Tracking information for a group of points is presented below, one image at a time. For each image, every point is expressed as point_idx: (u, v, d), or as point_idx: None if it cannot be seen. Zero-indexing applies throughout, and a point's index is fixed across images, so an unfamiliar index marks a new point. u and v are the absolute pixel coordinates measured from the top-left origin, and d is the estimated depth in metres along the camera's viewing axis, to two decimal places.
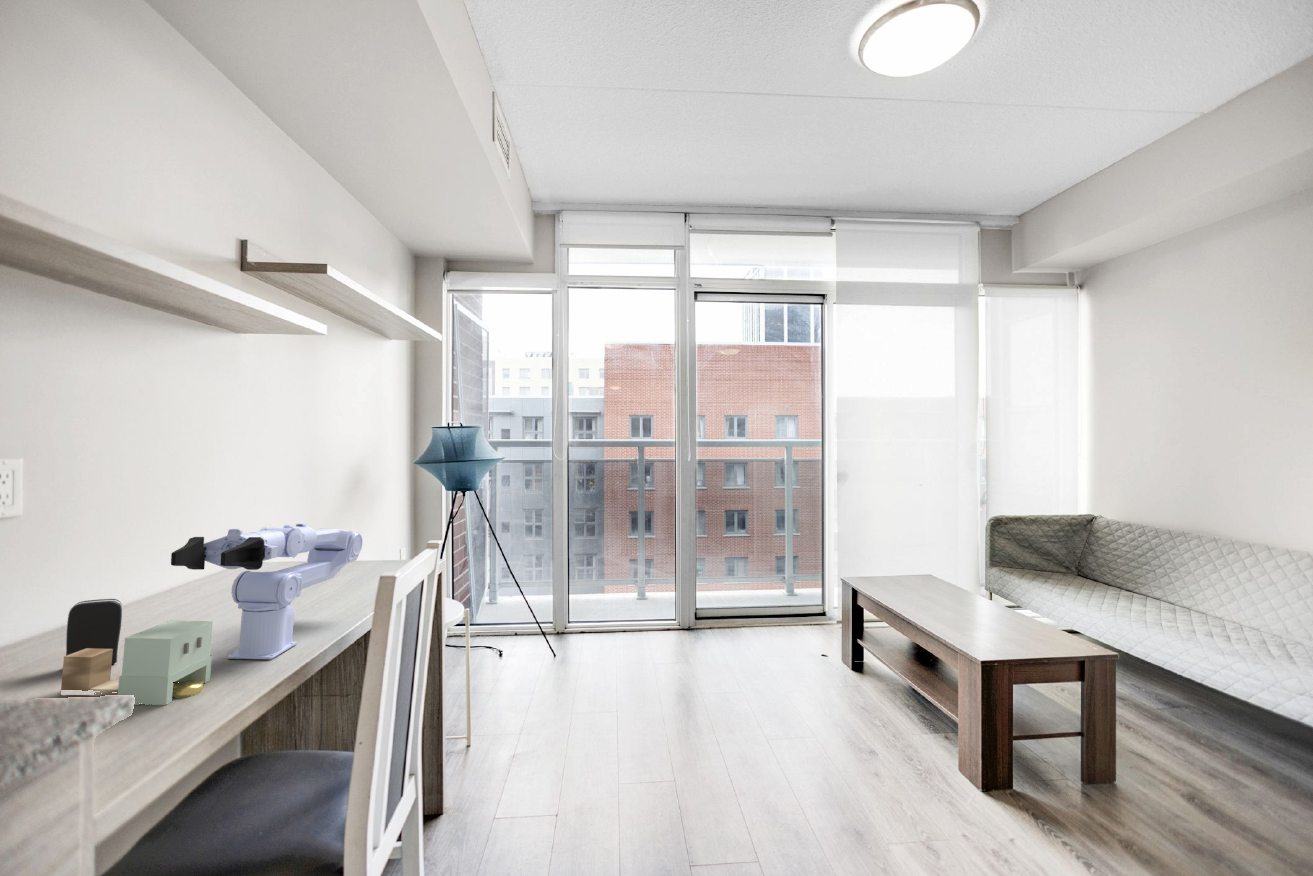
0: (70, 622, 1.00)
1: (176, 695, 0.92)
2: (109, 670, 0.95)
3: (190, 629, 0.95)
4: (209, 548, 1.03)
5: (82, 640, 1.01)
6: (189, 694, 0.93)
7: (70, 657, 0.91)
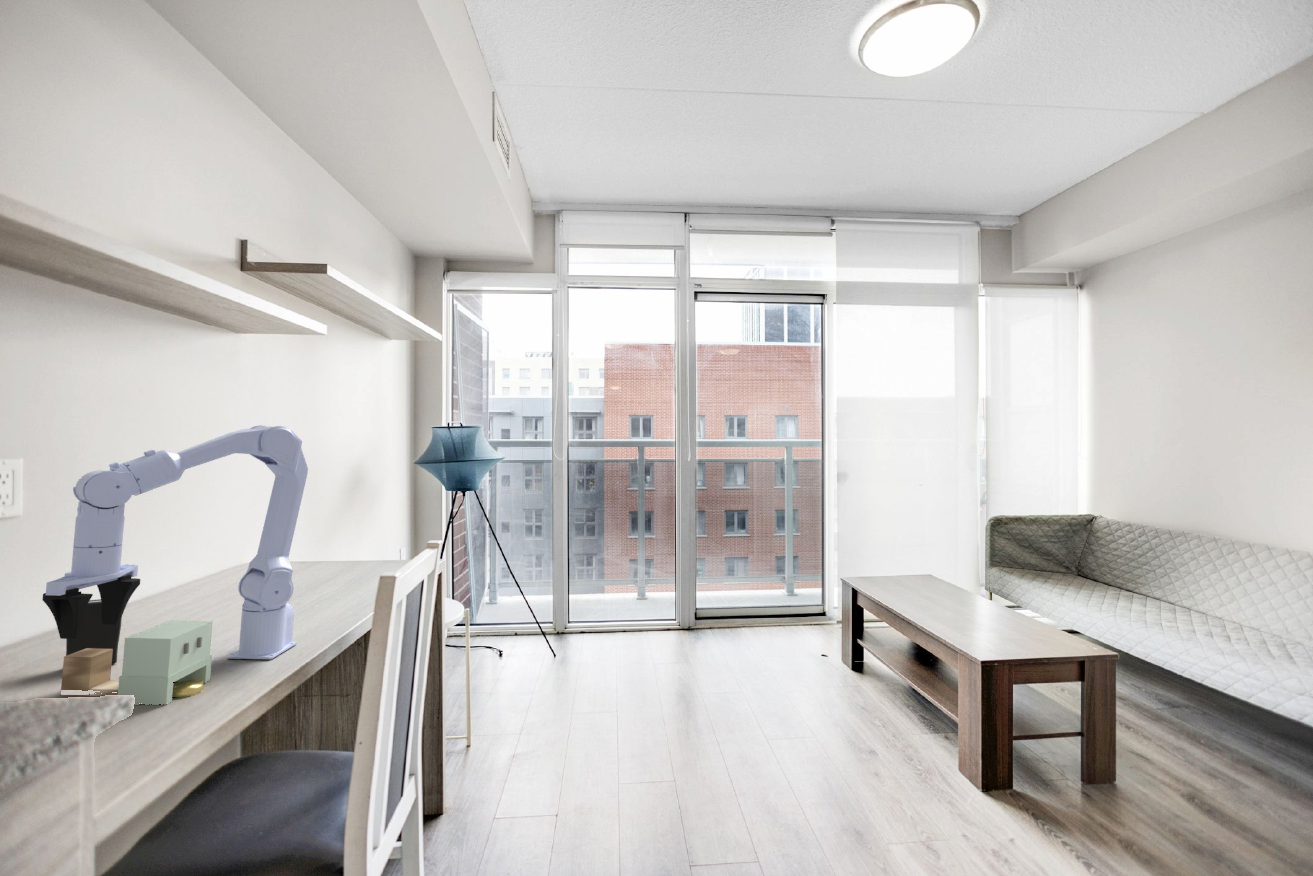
0: None
1: (176, 695, 0.92)
2: (109, 670, 0.95)
3: (190, 629, 0.95)
4: None
5: (82, 640, 1.01)
6: (189, 694, 0.93)
7: (70, 657, 0.91)
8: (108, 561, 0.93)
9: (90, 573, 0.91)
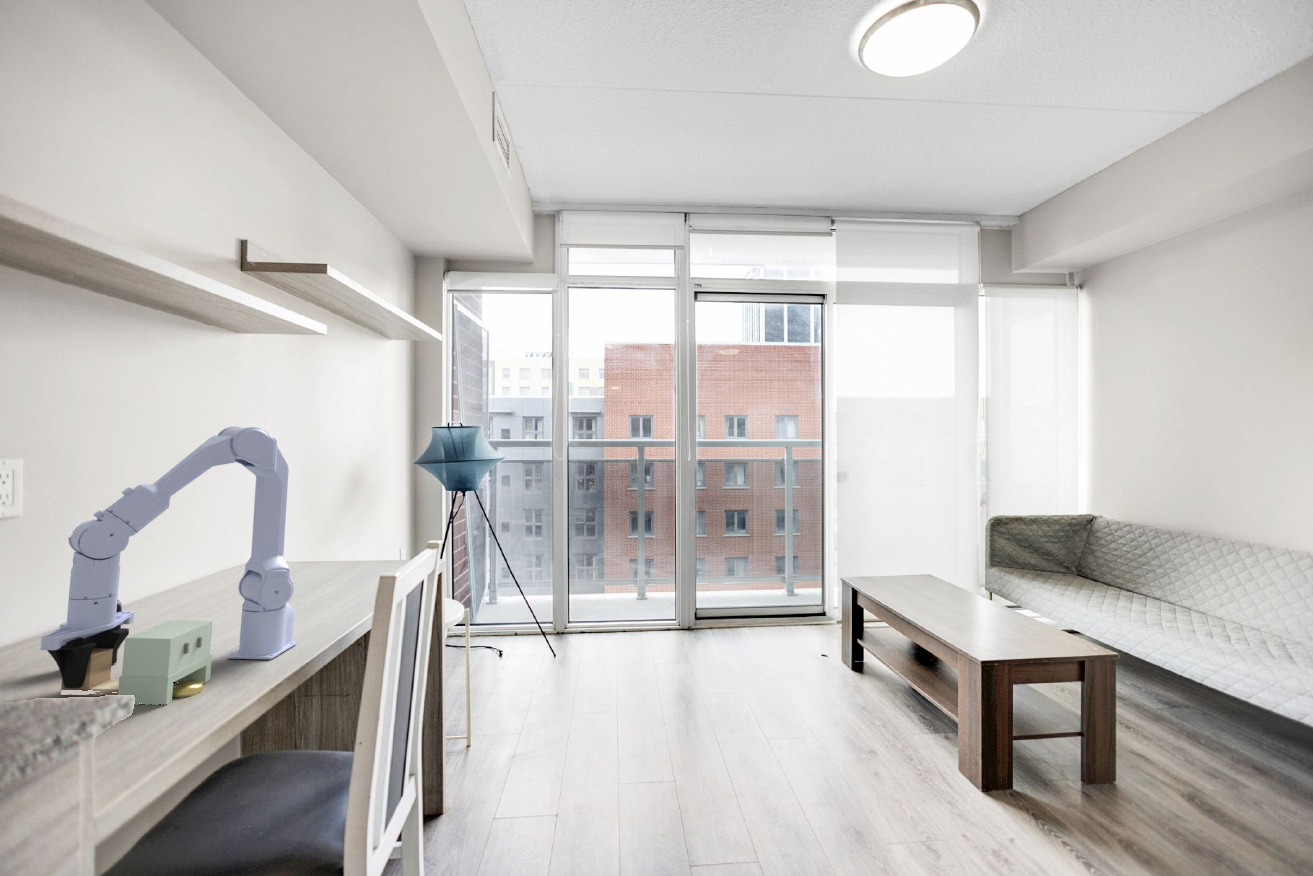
0: None
1: (176, 695, 0.92)
2: (109, 670, 0.95)
3: (190, 629, 0.95)
4: None
5: None
6: (189, 694, 0.93)
7: None
8: (103, 612, 0.93)
9: (85, 625, 0.91)
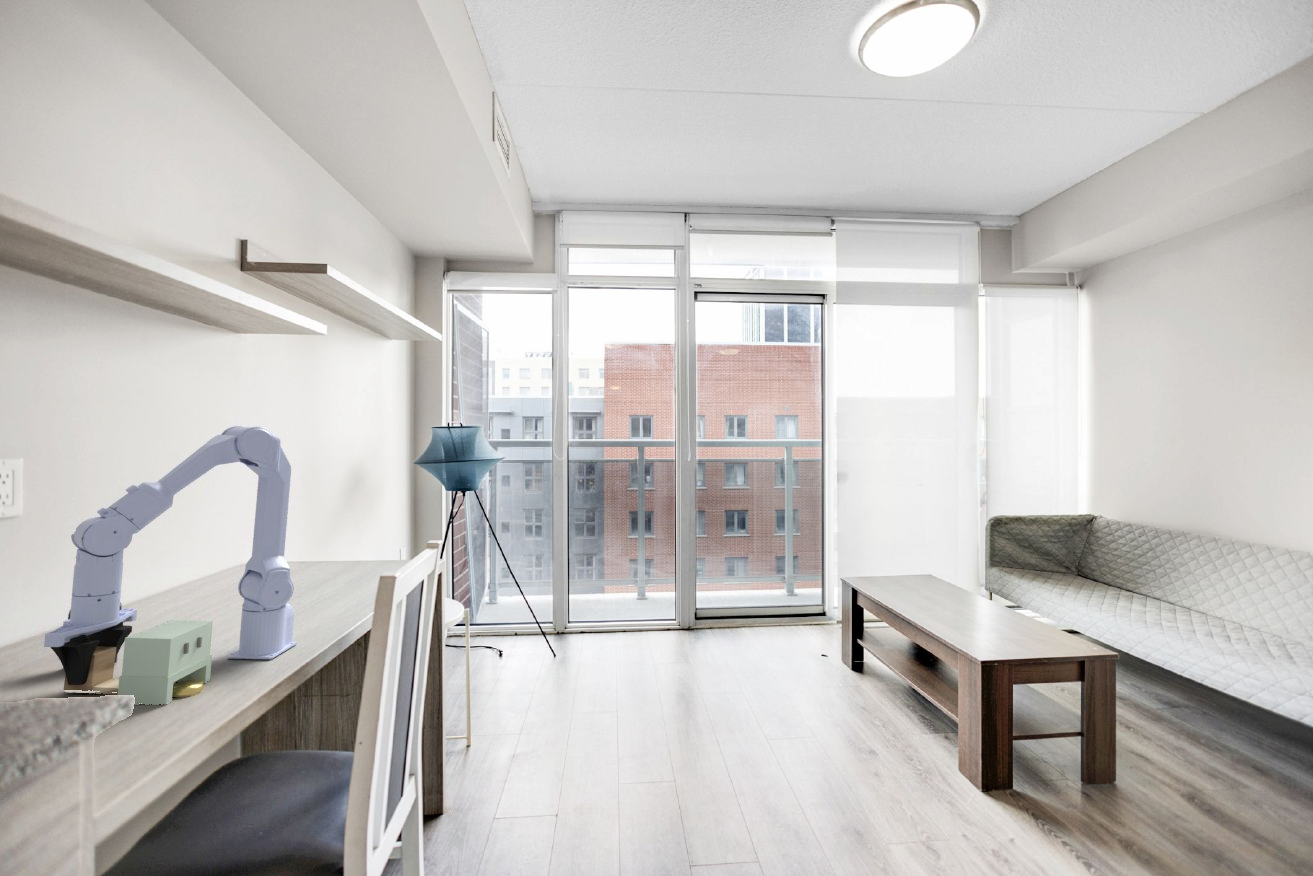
0: None
1: (176, 695, 0.92)
2: (112, 668, 0.95)
3: (190, 629, 0.95)
4: None
5: None
6: (189, 694, 0.93)
7: None
8: (107, 609, 0.93)
9: (88, 622, 0.91)
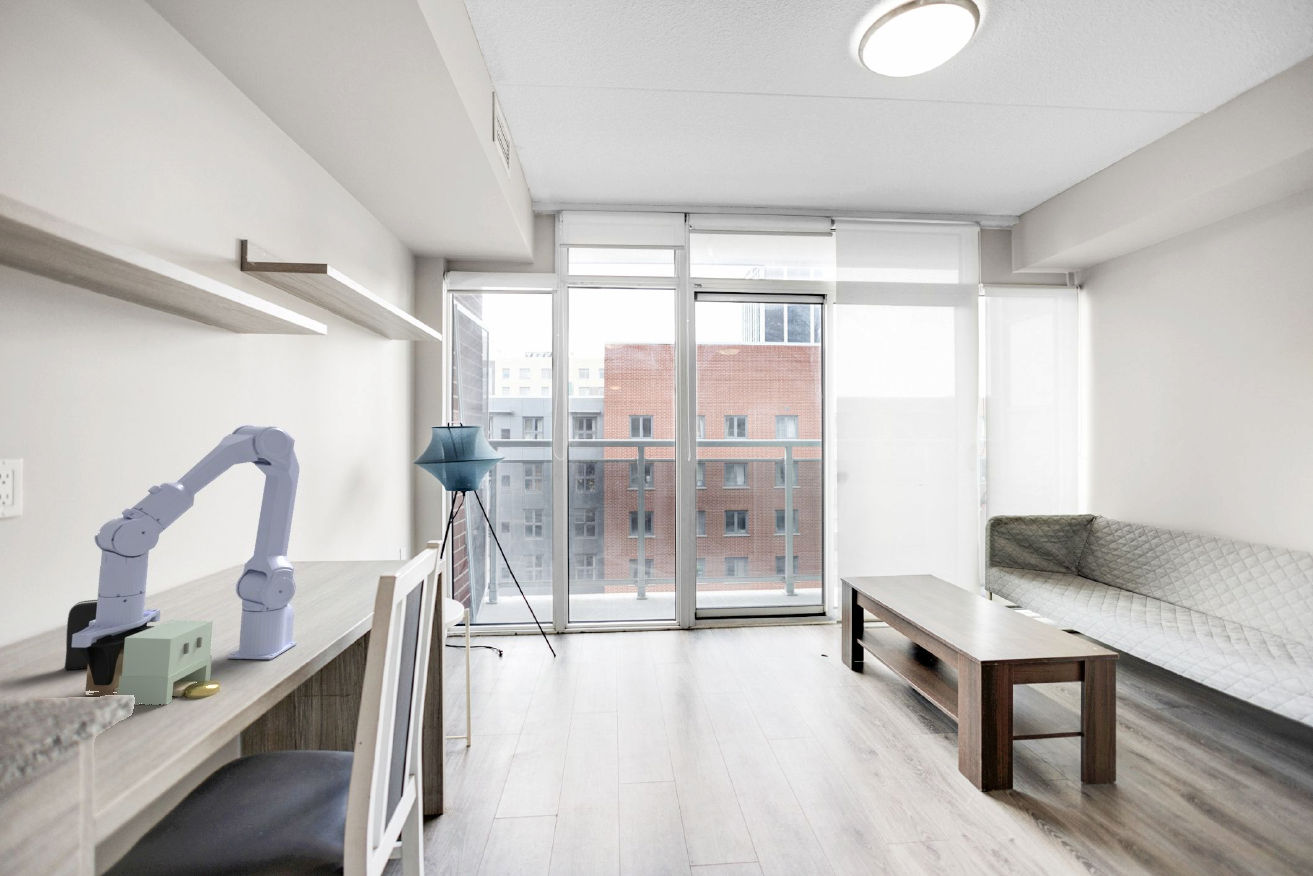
0: (70, 622, 1.00)
1: (193, 695, 0.92)
2: None
3: (190, 629, 0.95)
4: None
5: None
6: (206, 694, 0.93)
7: None
8: (132, 610, 0.93)
9: (114, 623, 0.92)
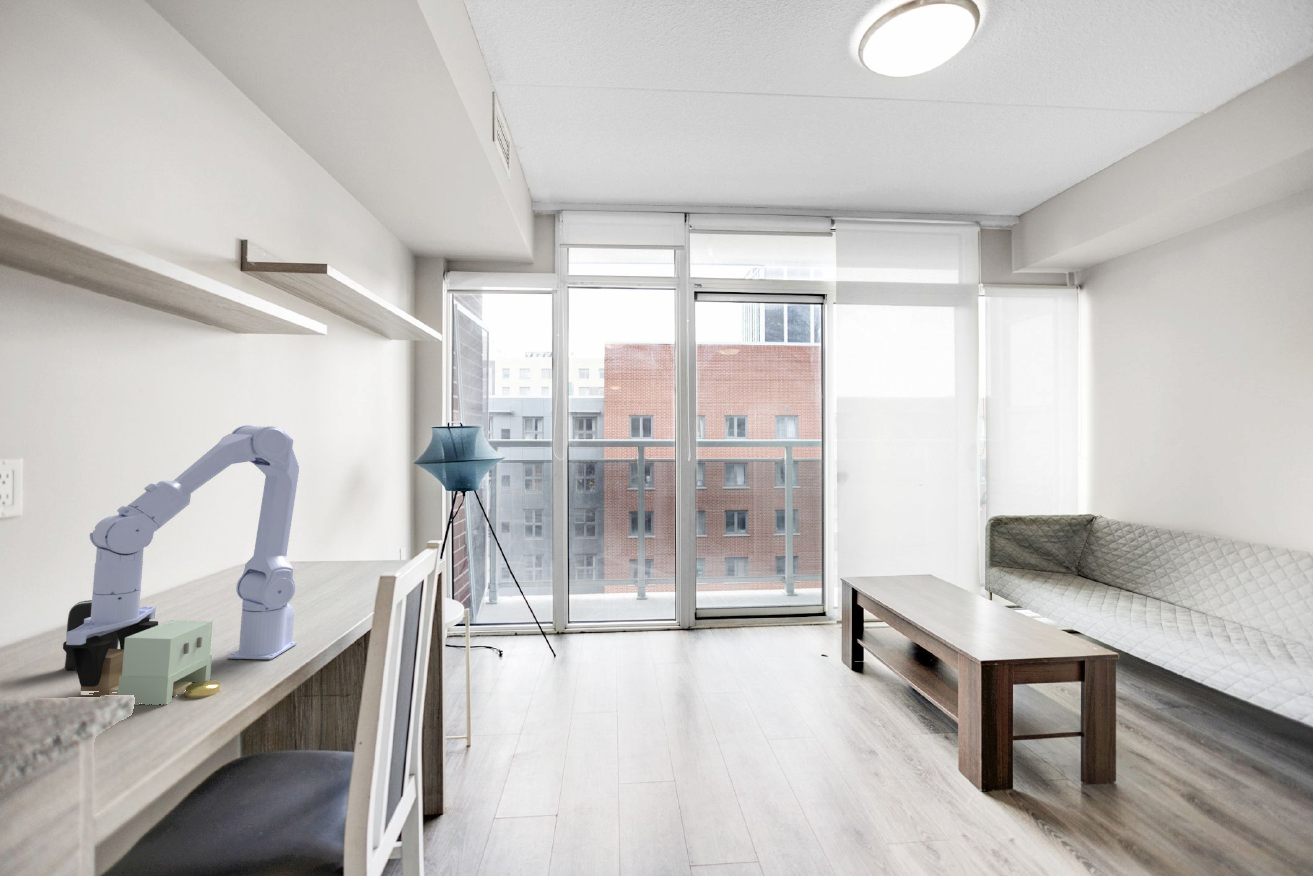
0: (70, 622, 1.00)
1: (193, 695, 0.92)
2: None
3: (190, 629, 0.95)
4: None
5: None
6: (206, 694, 0.93)
7: None
8: (127, 607, 0.93)
9: (109, 620, 0.91)
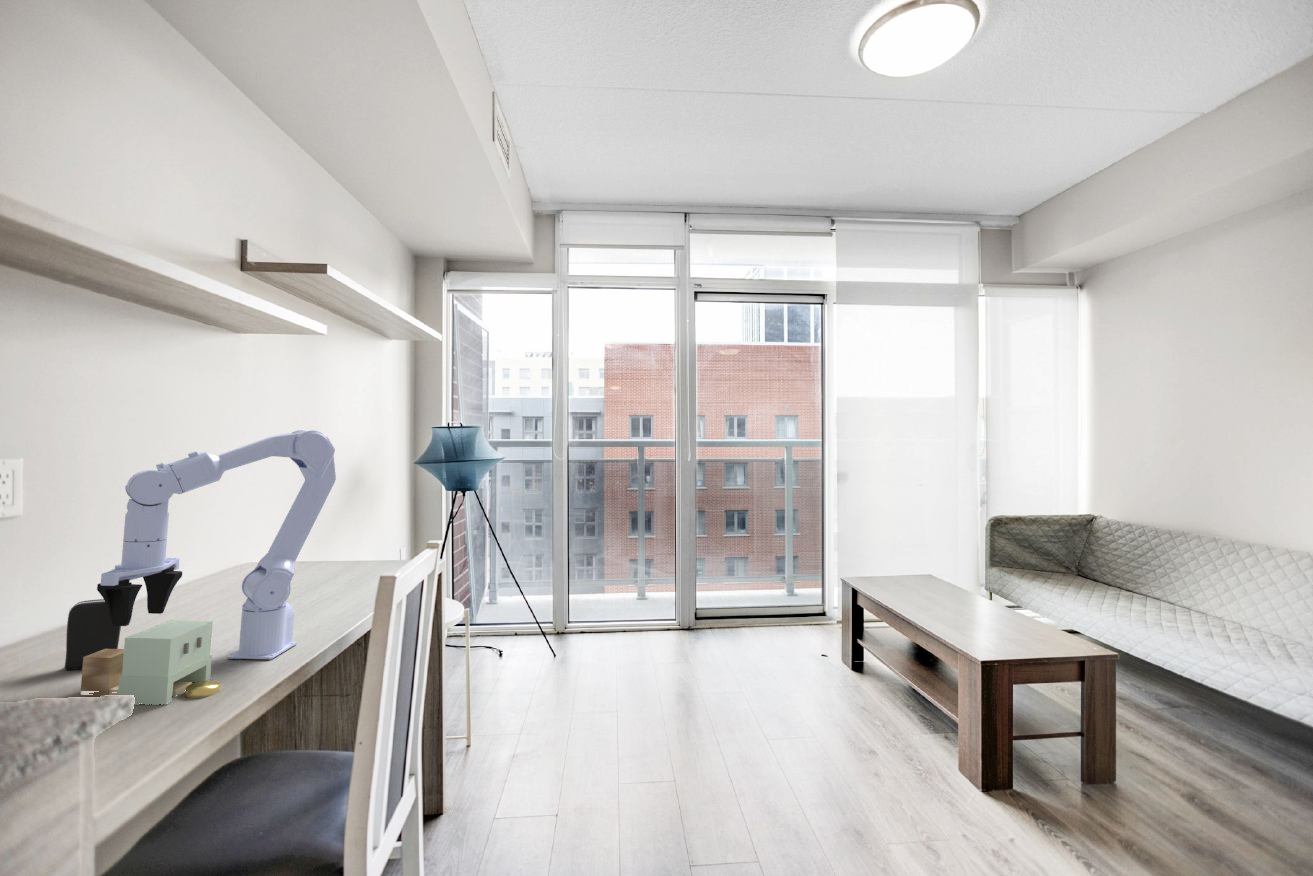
0: (70, 622, 1.00)
1: (193, 695, 0.92)
2: None
3: (190, 629, 0.95)
4: None
5: (82, 640, 1.01)
6: (206, 695, 0.93)
7: (89, 657, 0.92)
8: (155, 555, 1.00)
9: (139, 566, 0.99)
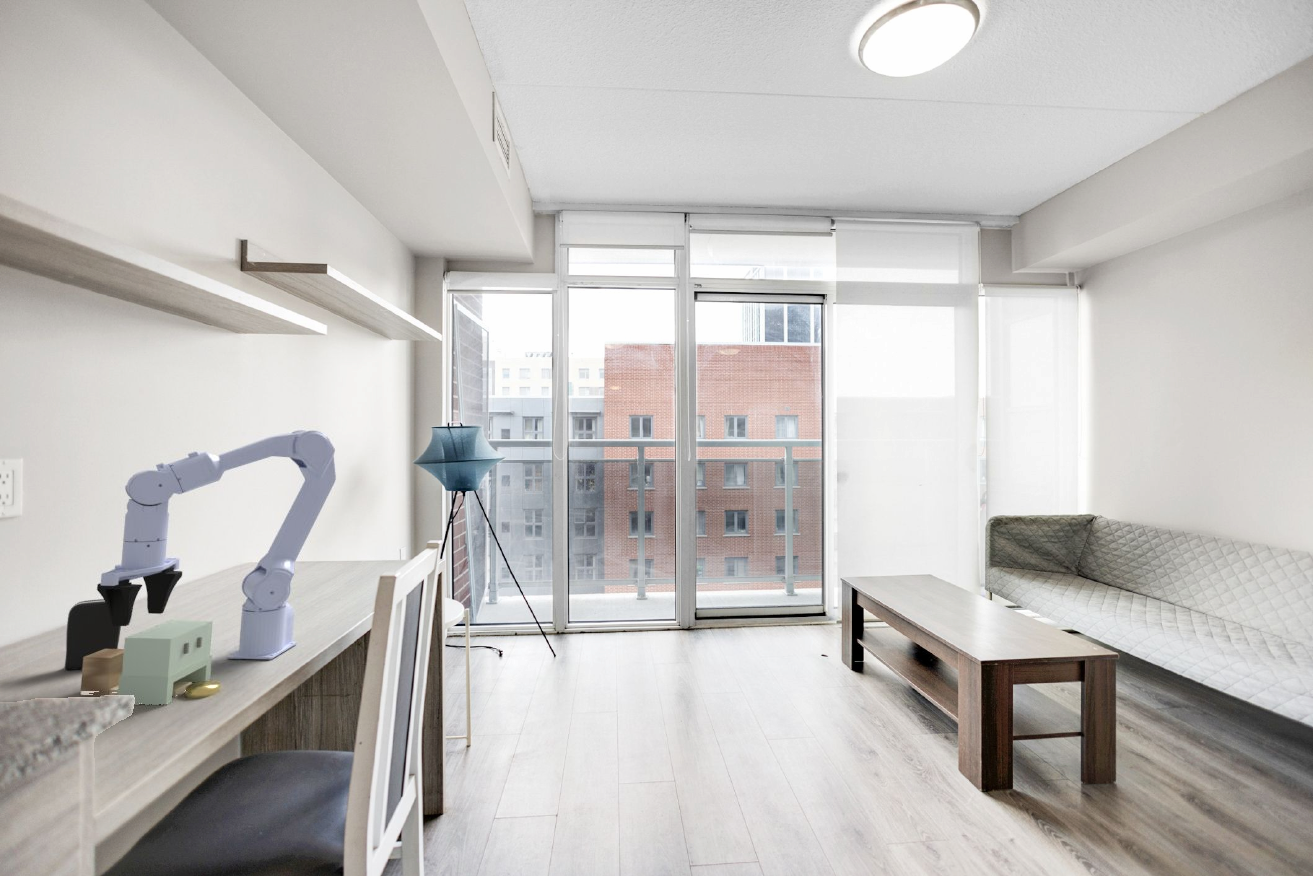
0: (70, 622, 1.00)
1: (193, 695, 0.92)
2: None
3: (190, 629, 0.95)
4: None
5: (82, 640, 1.01)
6: (206, 695, 0.93)
7: (89, 657, 0.92)
8: (155, 555, 1.00)
9: (139, 566, 0.99)
